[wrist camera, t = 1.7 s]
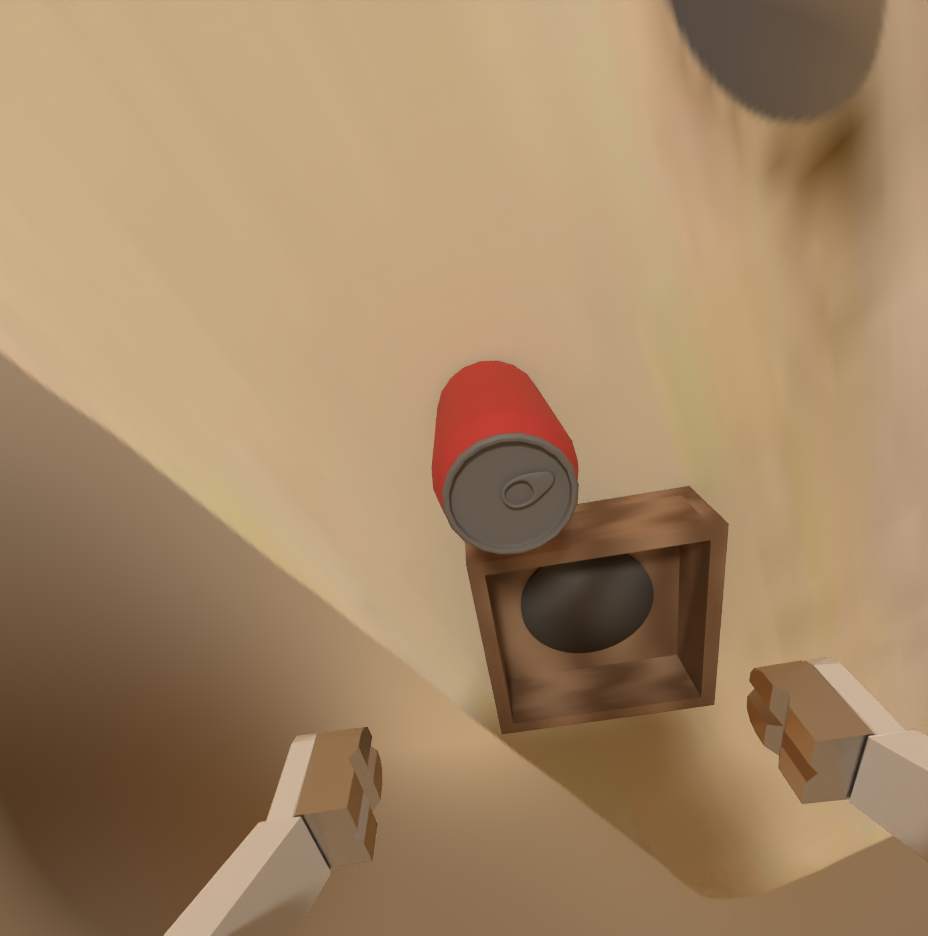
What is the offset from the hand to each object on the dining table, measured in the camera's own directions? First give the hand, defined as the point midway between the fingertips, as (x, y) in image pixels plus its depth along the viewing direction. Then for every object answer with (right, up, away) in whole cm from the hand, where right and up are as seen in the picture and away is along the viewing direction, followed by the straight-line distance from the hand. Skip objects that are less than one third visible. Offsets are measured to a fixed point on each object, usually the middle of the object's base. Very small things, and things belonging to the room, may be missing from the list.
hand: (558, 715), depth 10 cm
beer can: (0, +9, +20) cm, 22 cm away
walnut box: (+7, -4, +26) cm, 27 cm away
